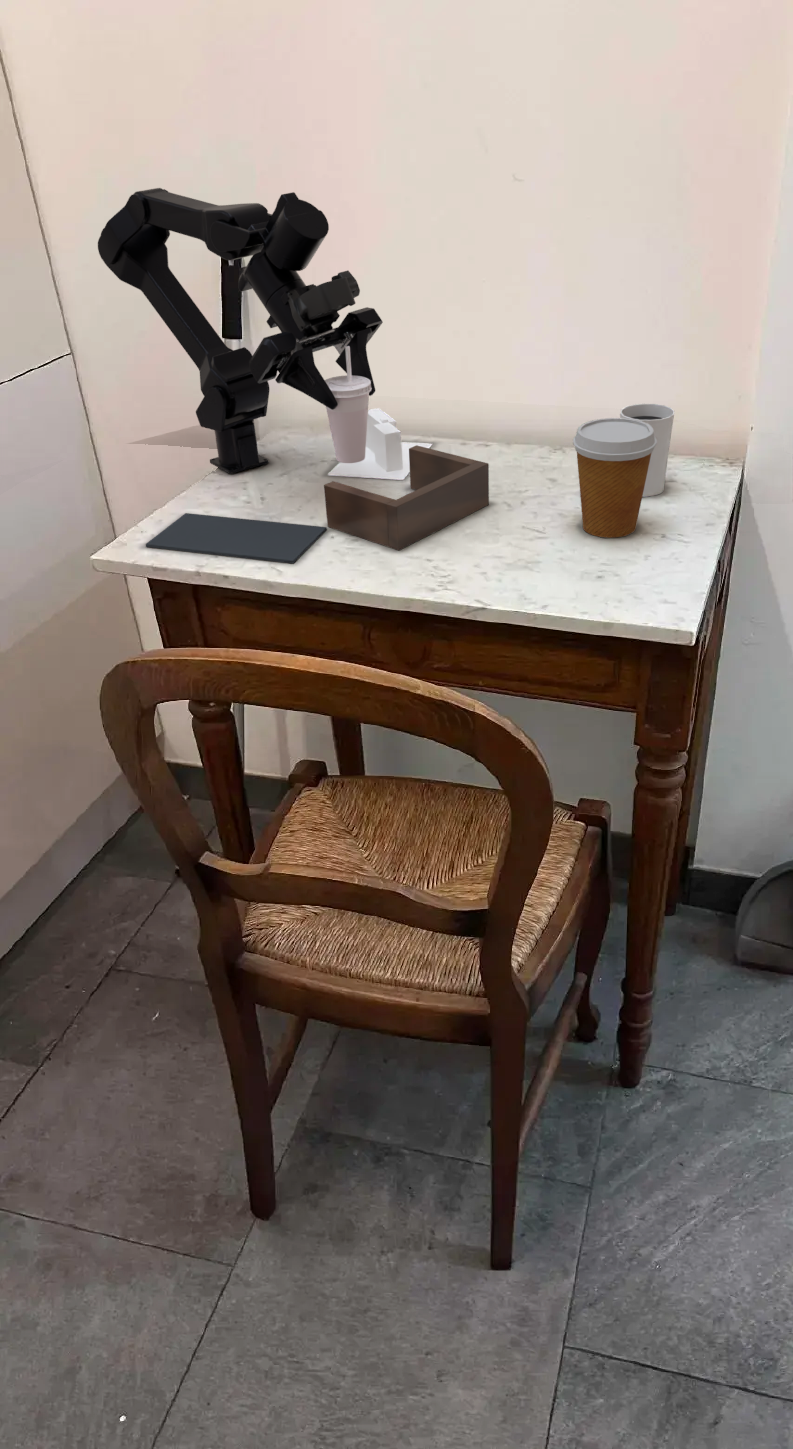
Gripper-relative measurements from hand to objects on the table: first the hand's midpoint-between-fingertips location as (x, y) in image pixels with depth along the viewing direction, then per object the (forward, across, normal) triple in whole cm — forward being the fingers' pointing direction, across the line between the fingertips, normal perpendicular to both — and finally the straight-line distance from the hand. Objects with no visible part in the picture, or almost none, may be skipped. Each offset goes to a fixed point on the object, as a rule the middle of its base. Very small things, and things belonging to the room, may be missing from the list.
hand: (354, 400), depth 132 cm
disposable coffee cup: (+31, +12, -12) cm, 35 cm away
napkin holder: (+3, +13, +16) cm, 21 cm away
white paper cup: (+28, +24, -10) cm, 39 cm away
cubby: (+15, 0, +3) cm, 16 cm away
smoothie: (+5, 0, +7) cm, 8 cm away
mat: (+6, -18, +12) cm, 23 cm away
